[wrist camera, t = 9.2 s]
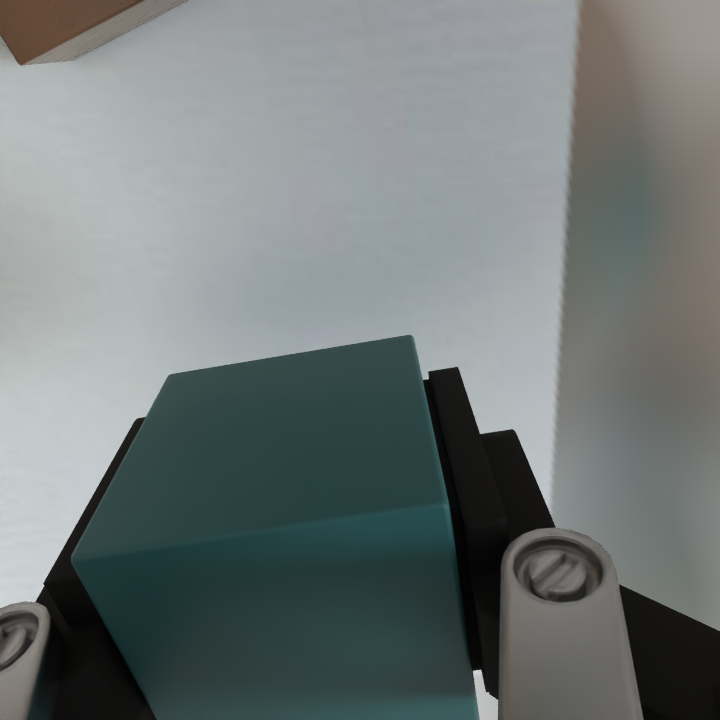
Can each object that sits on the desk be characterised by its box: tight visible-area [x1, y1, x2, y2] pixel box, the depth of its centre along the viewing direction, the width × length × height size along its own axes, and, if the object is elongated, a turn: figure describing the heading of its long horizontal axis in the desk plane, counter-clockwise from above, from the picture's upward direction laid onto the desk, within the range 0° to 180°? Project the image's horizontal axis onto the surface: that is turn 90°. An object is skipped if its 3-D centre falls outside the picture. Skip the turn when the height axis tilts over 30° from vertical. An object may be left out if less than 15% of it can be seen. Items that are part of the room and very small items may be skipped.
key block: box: [71, 335, 479, 720], centre depth 10 cm, size 4×4×4 cm
